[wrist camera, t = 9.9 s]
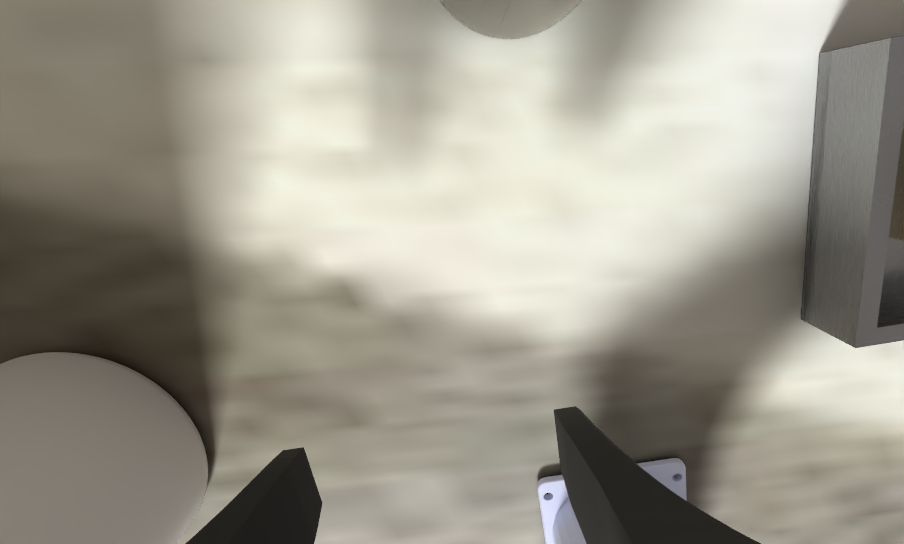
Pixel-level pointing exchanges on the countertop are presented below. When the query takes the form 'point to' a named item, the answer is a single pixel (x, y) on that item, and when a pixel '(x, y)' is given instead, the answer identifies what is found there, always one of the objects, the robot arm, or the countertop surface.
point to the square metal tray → (857, 196)
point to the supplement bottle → (509, 15)
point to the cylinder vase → (94, 454)
